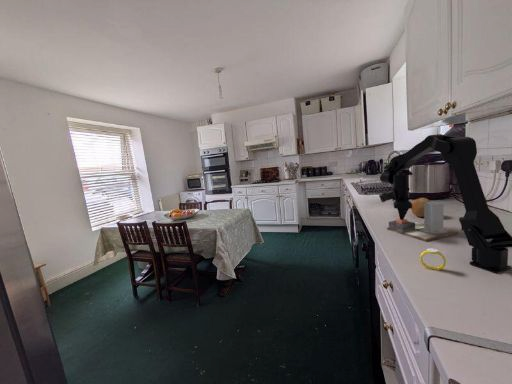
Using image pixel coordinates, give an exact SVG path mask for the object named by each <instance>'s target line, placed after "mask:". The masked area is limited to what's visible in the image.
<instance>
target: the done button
mask: <svg viewBox="0 0 512 384" xmlns="http://www.w3.org/2000/svg"><path fill="white" fill-rule="evenodd" d="M395 220H396V223H400V224H405V223H407V221H408V219H405V218H404V219H403V220H400V218H396V219H395Z"/></svg>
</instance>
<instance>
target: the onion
mask: <svg viewBox="0 0 512 384" xmlns="http://www.w3.org/2000/svg"><path fill="white" fill-rule="evenodd" d="M424 202H432V201H431V200H430V199H428V198H426V197H420V198H416V199H414V200H413V201H411V203H412V208H411V210H410V211H411V213H412V214H413V215H414V216H416V217H419V218H424Z"/></svg>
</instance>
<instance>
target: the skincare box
mask: <svg viewBox="0 0 512 384" xmlns="http://www.w3.org/2000/svg"><path fill="white" fill-rule="evenodd" d="M444 210H445V209H444V204H443V203H440V202H437V201H431V202H424V217H423V219H424V222H423V224H424V229H426V230H427V231H429V232H431V233H443V228H444Z"/></svg>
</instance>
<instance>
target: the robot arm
mask: <svg viewBox="0 0 512 384" xmlns="http://www.w3.org/2000/svg"><path fill="white" fill-rule="evenodd" d="M432 150H433V151H436V152H439V153H440V154H441V156H442V159H443V160H444V161H445V162H446V163H447V164H448V165H450V166H451V168H452V171H453V172H454V176H455V179H456V184H457V186H458V189H459V193H460V196H461V199H462V203H463V206H464V210H465V213H464V215H463V216H461V217H458V218H459V219H458V221H459V224H460V226H461V231H463V233H464V235H465V237H466V239H467V240H466V241H467V243H468V246H470V247H471V261H469V263H468V264H469V265H472V266H474V267H478V268H480V269H483V270H486V271H489V272H492V273H494V274H498V273H502V272H505V271H507V270H510V269H512V266H510V265H508V264H509V263H508V261H509V248H512V235H511V234H510V233H509V232H508V231H507V230H506V229H505V227H504V225H503V223H502V221H501V220H500V217H499V216H498V215H497V214H495V213H494V212H493V211H492V210H491V209H490V208H489V207H488V203H487V200H486V197H485V194H484V190H483V187H482V184H481V182H480V178H479V175H478V172H477V169H476V167H475V160H476V157H477V156H478V155H477V153H478V149H477V142H476V140H475V139H474V138H472V137H470V136H462V137H461V136H460V137H459V136H453V135H452V136H451V135H445V134H442V133H437V134H429V135H427V136H426V137H425V138H424V139H423V140H422V141H420V142H418V143H417V144H416V145H415V146H413V147H412V148H409V150H408V151H406V152H405V153H402V154H398V155H396V156H393V157H392V158H391V159H390V161H389V163H388V165H387V166H386V169H383V172H382V173H381V174H380V176H379V180H380V182H381V183H382V184H387V185H388V184H389V185H392V186H393V187H392V190H389V191H386V192H382V193H380V194H379V195H378V196H379V199H380V202H381V203H385V202H387V201H390V200H392V201H393V202H392V203H393V208H394V209H396V210H397V213H398V216H399V219H400V220H403V219H405V217H406V215H407V213H408V211H409V210H410V209H411V208H412V201H410V176H412V175H414V173H413V172H412V171H410V168H412V167H413V166H414V165H415V164H416V162H417V160H418V159H420V158H422V157H423V156H425V155H427V154H428V153H430V152H432Z"/></svg>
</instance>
